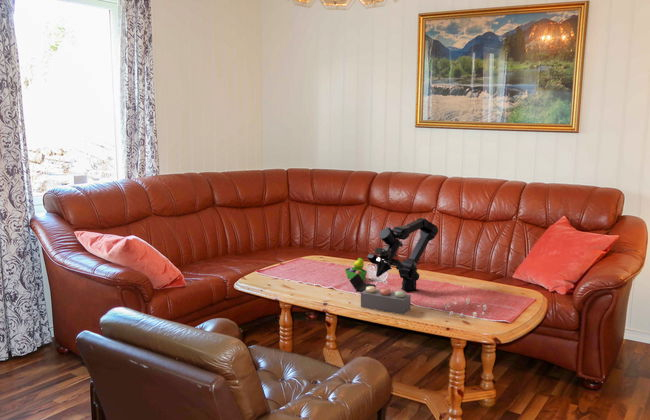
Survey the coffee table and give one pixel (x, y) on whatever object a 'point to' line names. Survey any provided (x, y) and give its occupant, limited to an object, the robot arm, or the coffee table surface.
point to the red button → (385, 291)
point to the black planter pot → (359, 283)
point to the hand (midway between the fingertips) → (377, 276)
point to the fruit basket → (356, 270)
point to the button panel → (386, 302)
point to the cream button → (371, 289)
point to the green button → (400, 294)
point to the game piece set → (467, 303)
